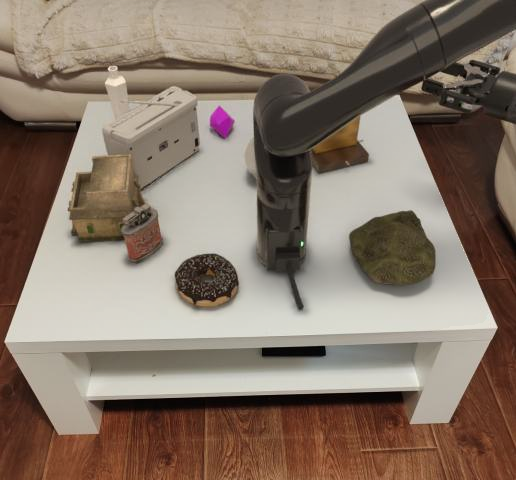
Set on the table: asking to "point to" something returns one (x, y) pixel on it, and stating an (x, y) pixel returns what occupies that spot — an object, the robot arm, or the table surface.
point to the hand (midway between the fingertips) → (432, 74)
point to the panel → (339, 158)
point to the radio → (156, 133)
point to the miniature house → (104, 198)
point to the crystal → (221, 121)
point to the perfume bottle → (117, 92)
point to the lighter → (142, 233)
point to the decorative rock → (394, 249)
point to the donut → (206, 290)
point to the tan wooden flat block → (340, 138)
